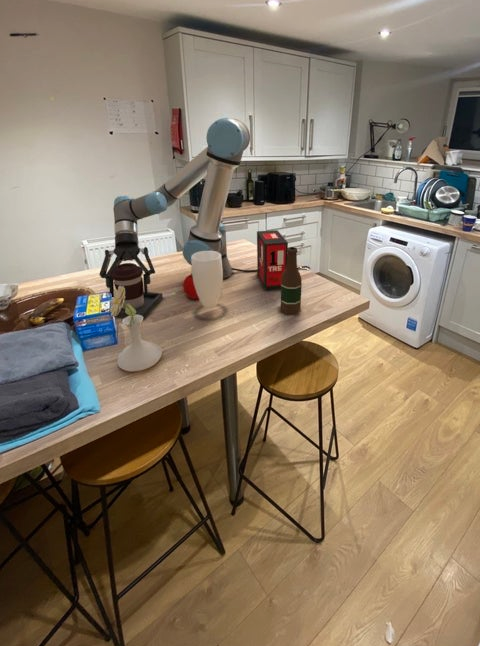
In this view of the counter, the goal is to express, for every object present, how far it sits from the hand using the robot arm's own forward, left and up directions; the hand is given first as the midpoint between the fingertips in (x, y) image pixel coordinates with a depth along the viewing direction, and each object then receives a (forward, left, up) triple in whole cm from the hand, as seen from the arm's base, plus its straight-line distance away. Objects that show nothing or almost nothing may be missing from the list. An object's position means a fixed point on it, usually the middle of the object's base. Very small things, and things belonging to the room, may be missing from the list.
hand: (129, 294), depth 114 cm
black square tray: (+1, -3, -7) cm, 7 cm away
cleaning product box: (-45, -31, -7) cm, 55 cm away
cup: (-27, -3, -7) cm, 28 cm away
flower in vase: (-16, +26, -7) cm, 31 cm away
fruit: (-18, -14, -7) cm, 24 cm away
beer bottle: (-55, -8, -7) cm, 56 cm away
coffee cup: (+1, -3, -6) cm, 7 cm away
